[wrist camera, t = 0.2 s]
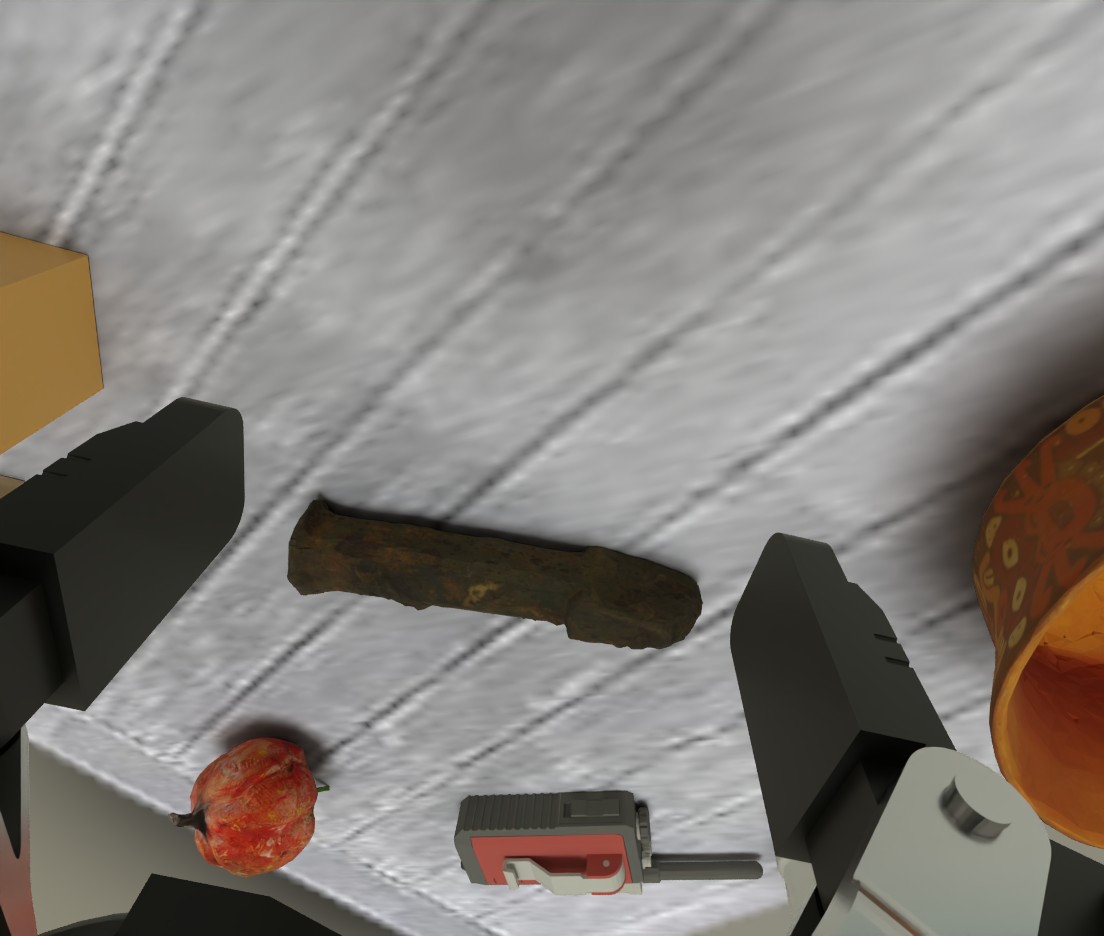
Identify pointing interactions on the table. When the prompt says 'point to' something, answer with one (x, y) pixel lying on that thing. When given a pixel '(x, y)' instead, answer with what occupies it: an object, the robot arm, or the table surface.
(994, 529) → the bowl
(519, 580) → the hand tool
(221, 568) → the table surface
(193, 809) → the pomegranate
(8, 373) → the mustard yellow cube
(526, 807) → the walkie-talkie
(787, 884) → the bottle
